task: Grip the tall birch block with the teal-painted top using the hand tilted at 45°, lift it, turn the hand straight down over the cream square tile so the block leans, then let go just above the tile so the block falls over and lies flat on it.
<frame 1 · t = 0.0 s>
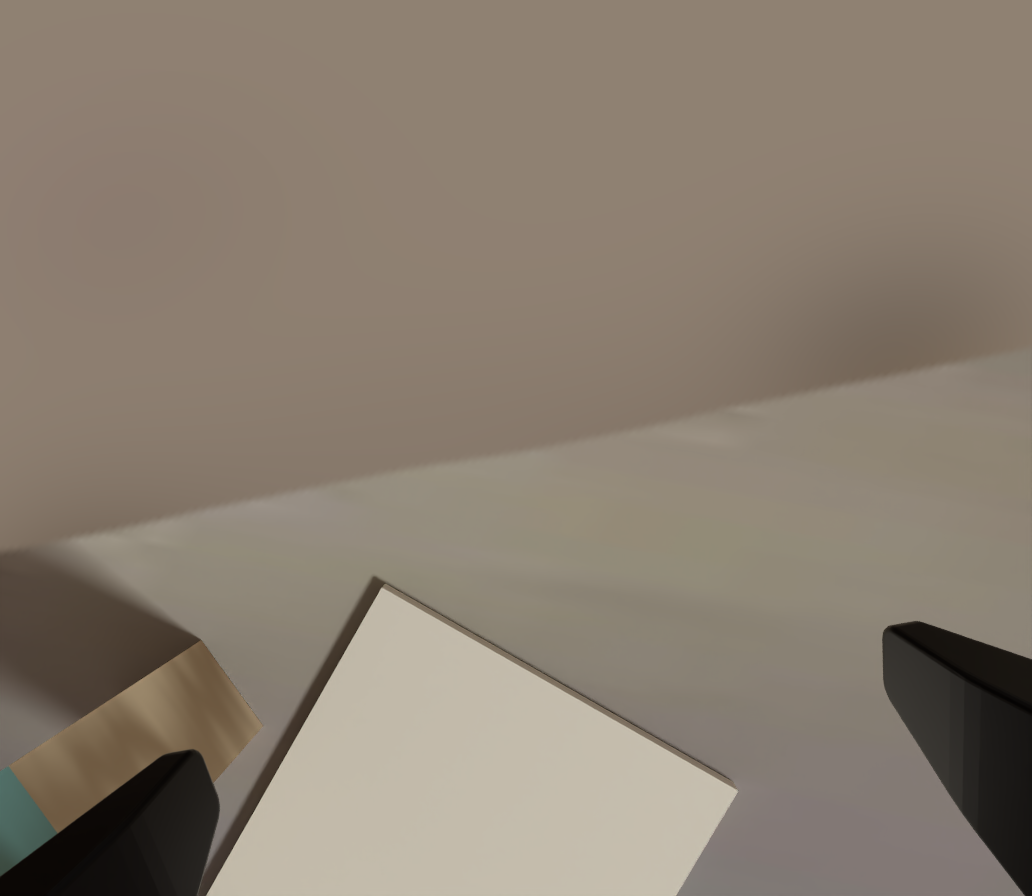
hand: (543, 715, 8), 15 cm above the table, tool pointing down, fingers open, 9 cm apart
birch block: (189, 713, 24), on the table
cream square tile: (466, 841, 24), on the table
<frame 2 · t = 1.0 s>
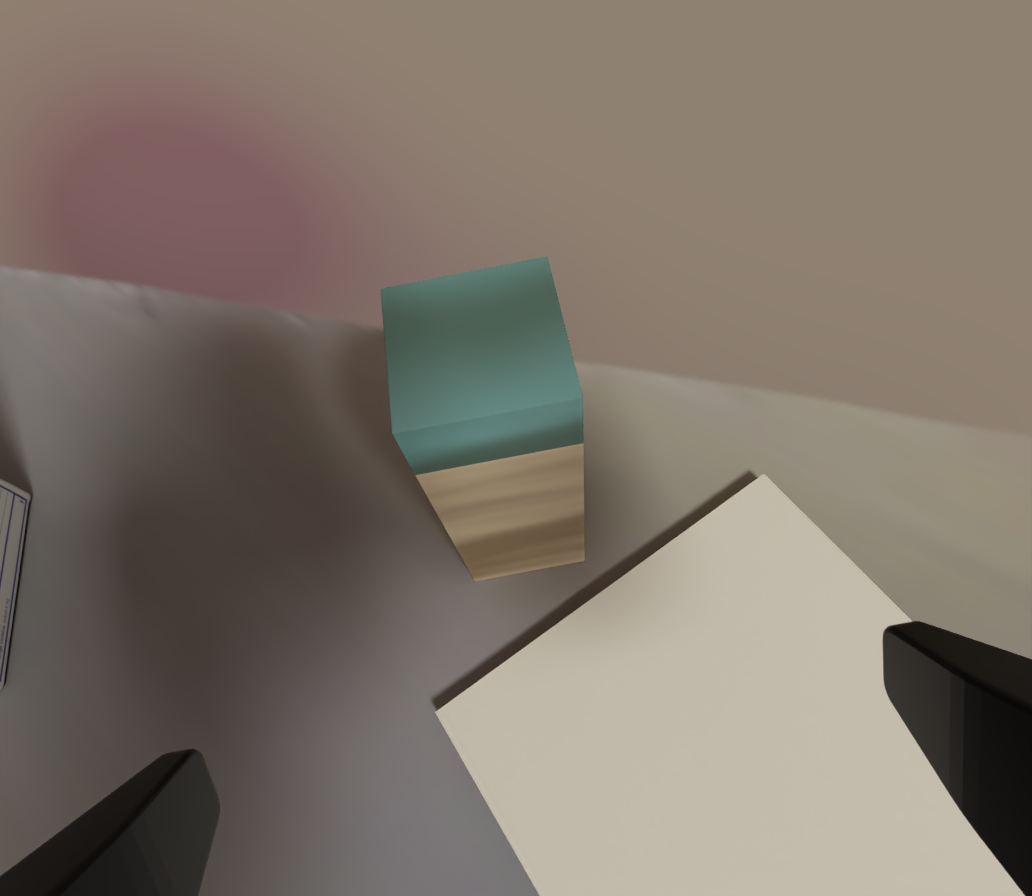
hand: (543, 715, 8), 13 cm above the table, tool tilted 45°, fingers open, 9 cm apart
birch block: (520, 519, 24), on the table
cream square tile: (766, 792, 19), on the table
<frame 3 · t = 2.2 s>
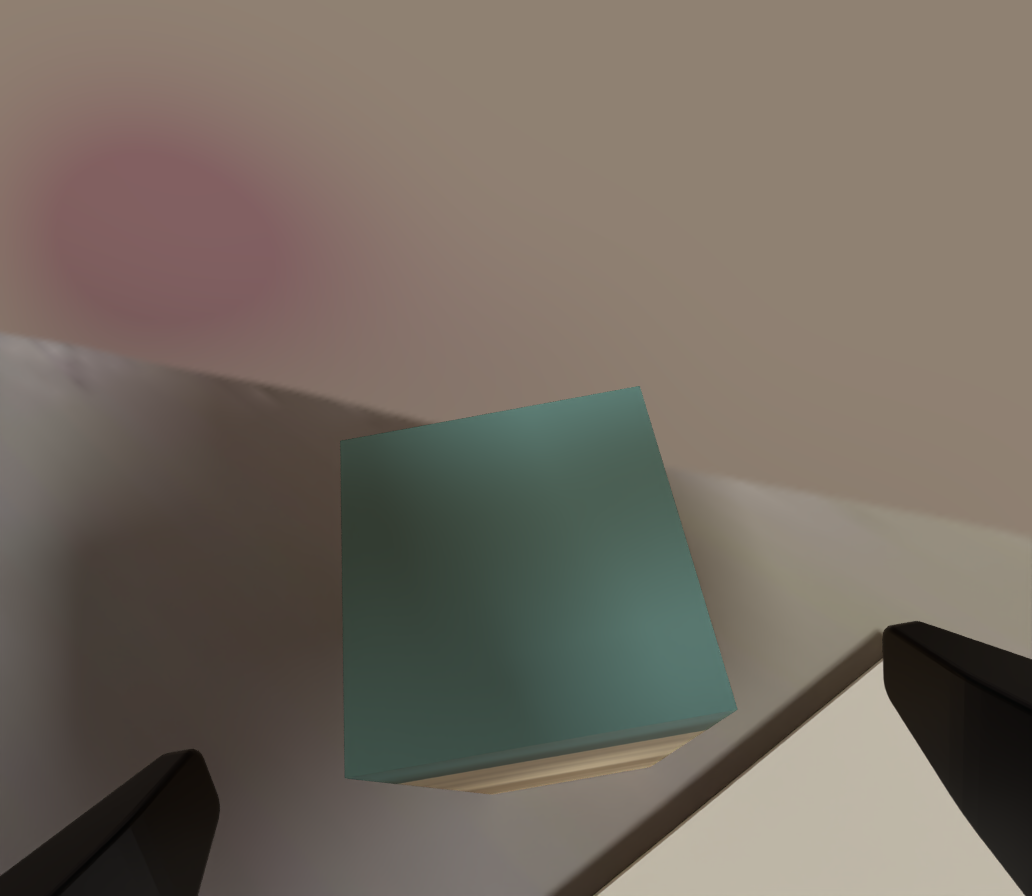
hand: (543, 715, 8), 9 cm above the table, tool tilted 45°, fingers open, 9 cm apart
birch block: (556, 696, 17), on the table
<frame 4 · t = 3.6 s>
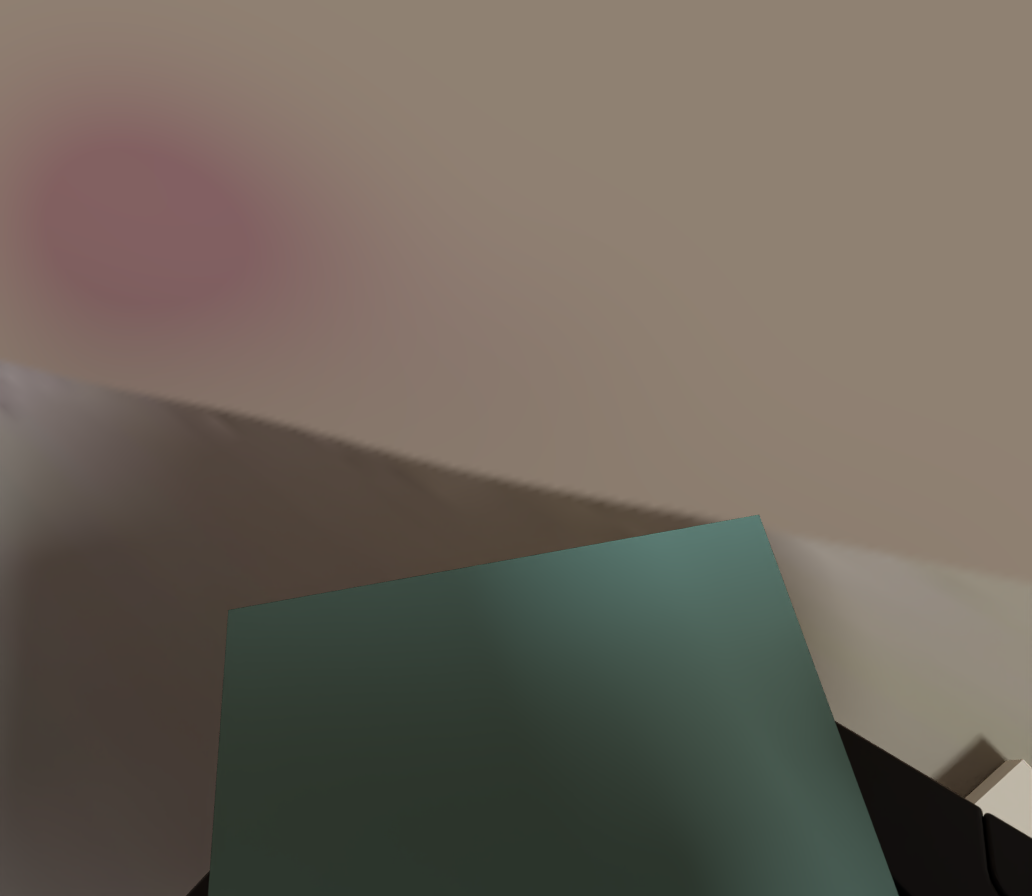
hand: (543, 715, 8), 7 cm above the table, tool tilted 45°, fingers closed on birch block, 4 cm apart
birch block: (574, 820, 13), on the table, touching gripper
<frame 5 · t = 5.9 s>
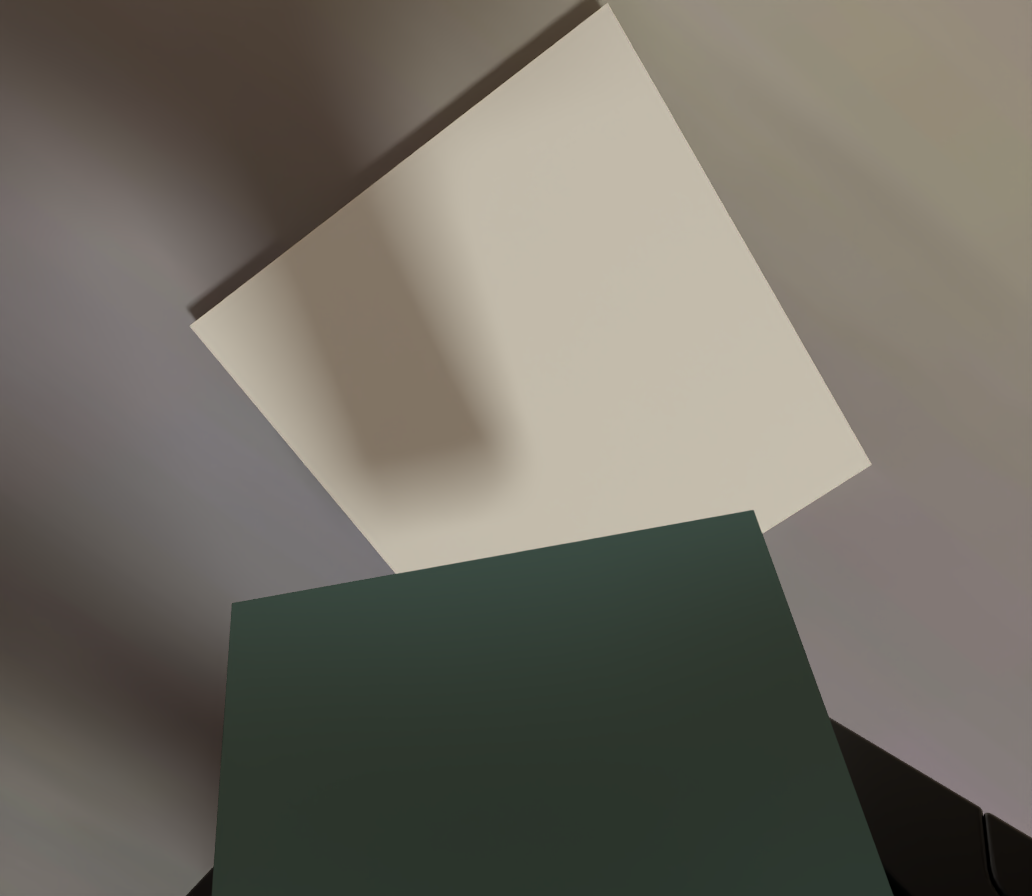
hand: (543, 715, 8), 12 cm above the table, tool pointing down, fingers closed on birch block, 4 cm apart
birch block: (574, 816, 13), point 8 cm above the table, tilted 44°, touching gripper
cream square tile: (544, 394, 19), on the table
when the fingers open (7 cm above the table, at t = 7.9 s): birch block moves 2 cm and tips over, resting on cream square tile.
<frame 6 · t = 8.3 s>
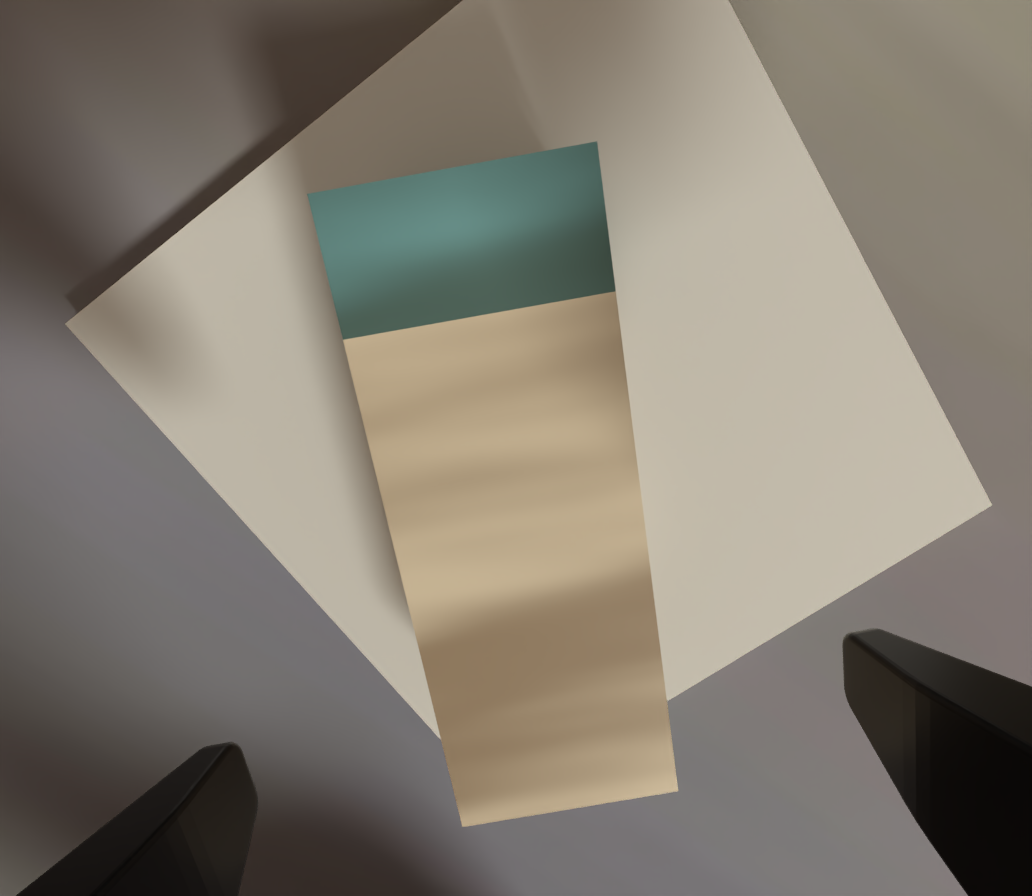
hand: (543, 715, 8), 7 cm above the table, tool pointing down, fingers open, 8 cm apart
birch block: (559, 732, 14), point 3 cm above the table, tilted 90°, touching cream square tile
cream square tile: (556, 414, 14), on the table
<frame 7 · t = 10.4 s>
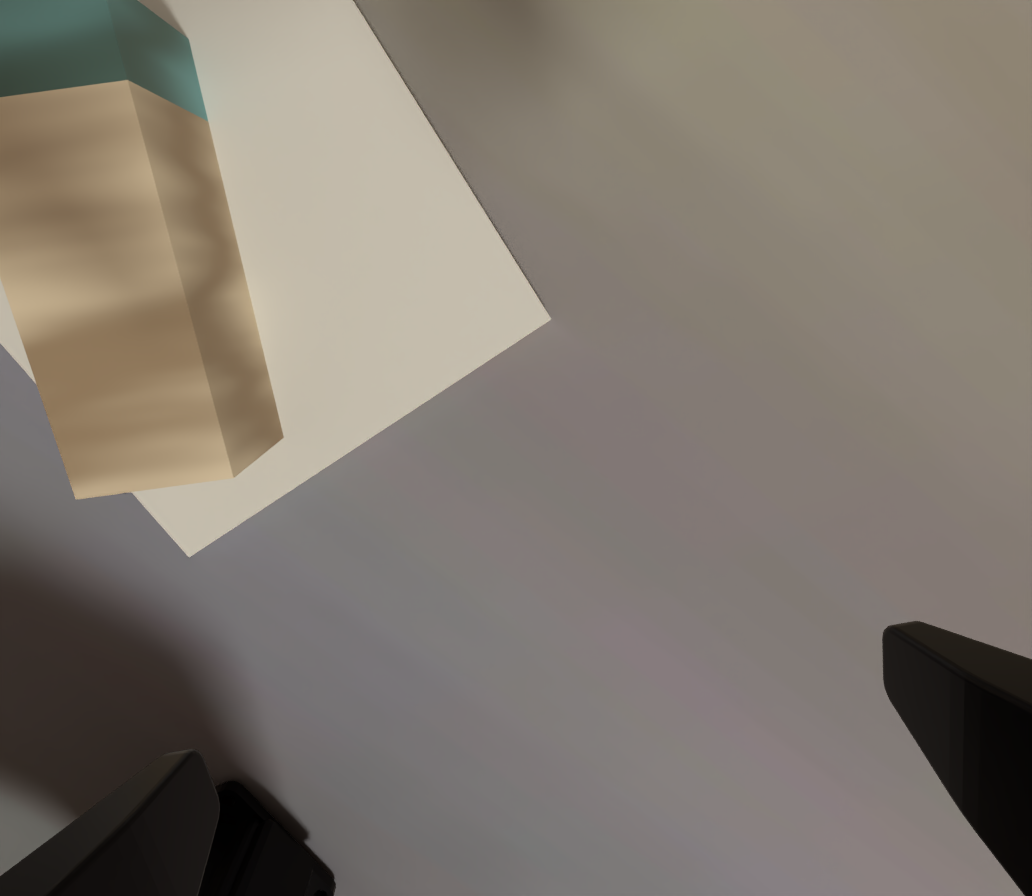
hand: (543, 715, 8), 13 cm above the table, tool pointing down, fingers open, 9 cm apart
birch block: (191, 465, 18), point 3 cm above the table, tilted 90°, touching cream square tile
cream square tile: (212, 232, 19), on the table
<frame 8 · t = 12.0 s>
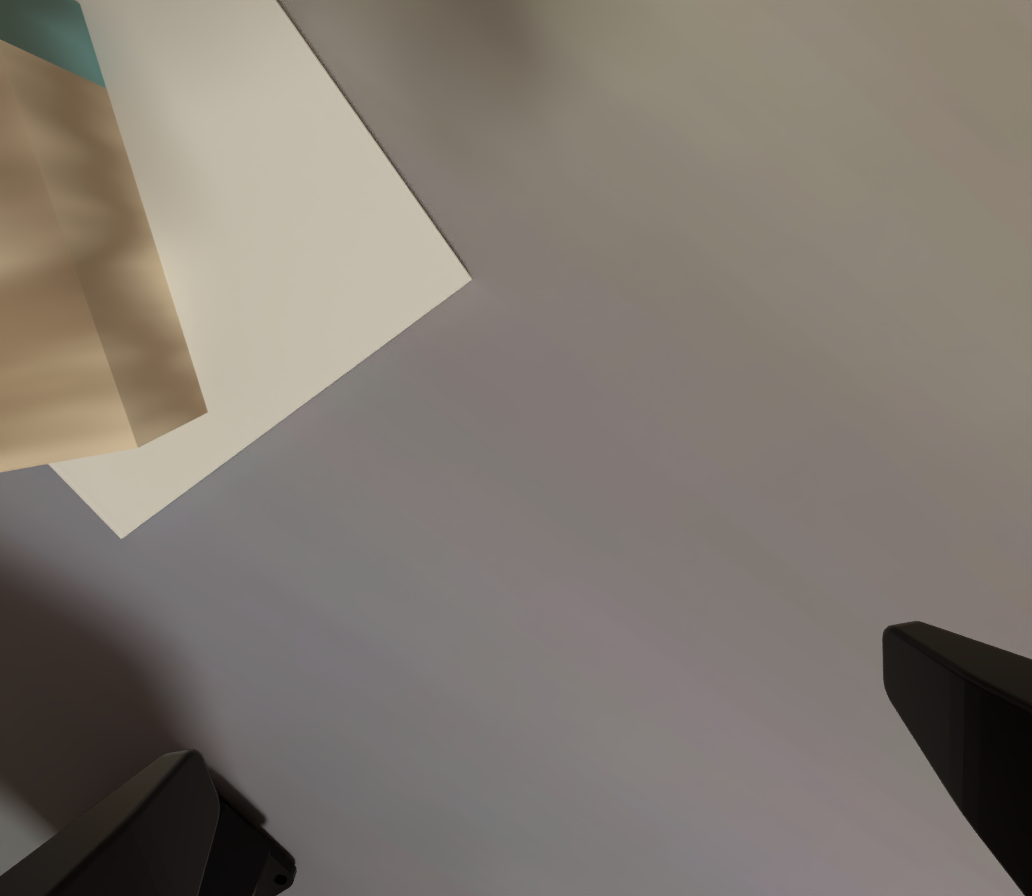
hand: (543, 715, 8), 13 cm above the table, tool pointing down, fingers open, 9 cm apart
birch block: (106, 440, 18), point 3 cm above the table, tilted 90°, touching cream square tile
cream square tile: (122, 204, 18), on the table
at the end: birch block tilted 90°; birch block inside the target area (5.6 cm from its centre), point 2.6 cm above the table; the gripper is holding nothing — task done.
